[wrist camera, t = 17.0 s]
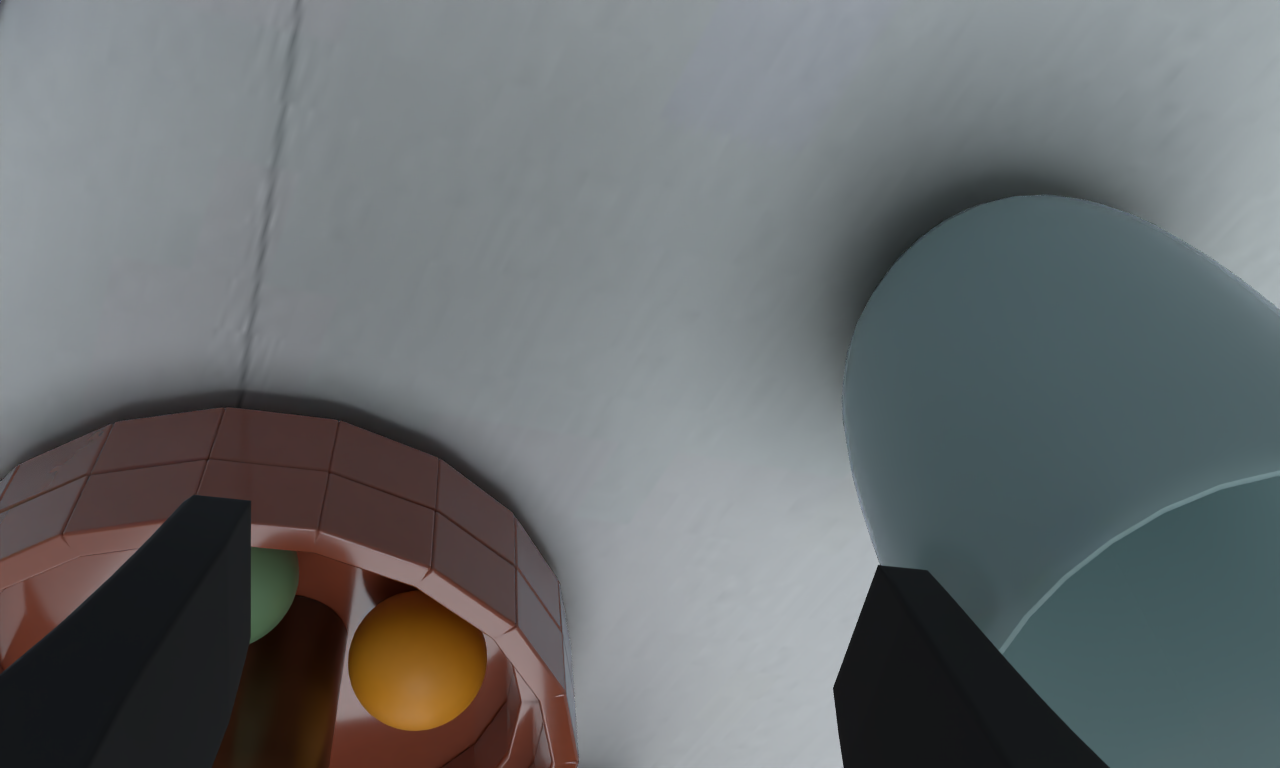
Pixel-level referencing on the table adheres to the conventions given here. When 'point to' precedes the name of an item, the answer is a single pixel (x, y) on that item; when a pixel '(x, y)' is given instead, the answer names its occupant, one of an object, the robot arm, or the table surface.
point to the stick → (288, 693)
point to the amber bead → (416, 662)
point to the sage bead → (271, 588)
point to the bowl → (311, 559)
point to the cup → (1085, 468)
